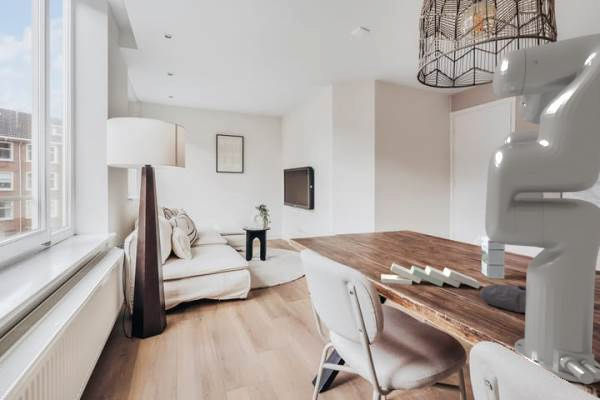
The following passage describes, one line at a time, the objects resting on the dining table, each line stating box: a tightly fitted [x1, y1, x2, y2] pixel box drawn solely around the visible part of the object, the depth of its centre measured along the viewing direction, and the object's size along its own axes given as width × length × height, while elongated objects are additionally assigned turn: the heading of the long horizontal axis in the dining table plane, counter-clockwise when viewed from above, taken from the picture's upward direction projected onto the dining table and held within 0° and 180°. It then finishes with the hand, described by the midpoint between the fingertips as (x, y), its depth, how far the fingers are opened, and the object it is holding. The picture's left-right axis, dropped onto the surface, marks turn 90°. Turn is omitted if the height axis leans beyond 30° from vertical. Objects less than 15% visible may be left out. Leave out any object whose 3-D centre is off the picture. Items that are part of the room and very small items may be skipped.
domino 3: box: [409, 265, 444, 287], centre depth 98 cm, size 5×2×10 cm
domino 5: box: [442, 267, 482, 290], centre depth 95 cm, size 5×2×10 cm
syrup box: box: [480, 236, 506, 280], centre depth 104 cm, size 6×6×14 cm
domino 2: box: [390, 262, 422, 284], centre depth 100 cm, size 5×2×10 cm
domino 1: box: [380, 273, 413, 286], centre depth 101 cm, size 5×2×10 cm
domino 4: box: [424, 265, 461, 288], centre depth 97 cm, size 5×2×10 cm
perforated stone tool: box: [479, 284, 526, 314], centre depth 77 cm, size 15×5×7 cm, turn 51°
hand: (521, 235), depth 87 cm, fingers closed
